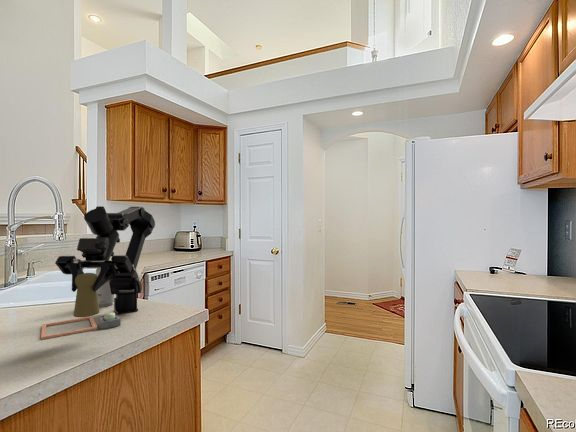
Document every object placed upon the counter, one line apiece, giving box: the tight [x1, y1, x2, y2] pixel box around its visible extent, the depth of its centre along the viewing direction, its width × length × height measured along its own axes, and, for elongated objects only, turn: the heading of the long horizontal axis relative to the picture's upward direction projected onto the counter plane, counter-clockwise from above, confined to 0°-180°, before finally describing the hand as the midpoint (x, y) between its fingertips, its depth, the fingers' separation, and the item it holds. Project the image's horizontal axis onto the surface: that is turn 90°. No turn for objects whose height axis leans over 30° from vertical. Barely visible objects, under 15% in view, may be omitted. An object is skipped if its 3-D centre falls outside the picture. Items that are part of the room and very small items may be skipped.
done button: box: [104, 312, 116, 321], centre depth 96 cm, size 3×3×2 cm
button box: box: [98, 314, 121, 330], centre depth 96 cm, size 5×5×2 cm
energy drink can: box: [95, 268, 115, 308], centre depth 119 cm, size 6×6×15 cm
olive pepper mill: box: [73, 272, 101, 318], centre depth 85 cm, size 6×6×11 cm
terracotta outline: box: [40, 315, 98, 341], centre depth 94 cm, size 13×13×1 cm
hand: (83, 290), depth 84 cm, fingers closed on olive pepper mill, 5 cm apart
